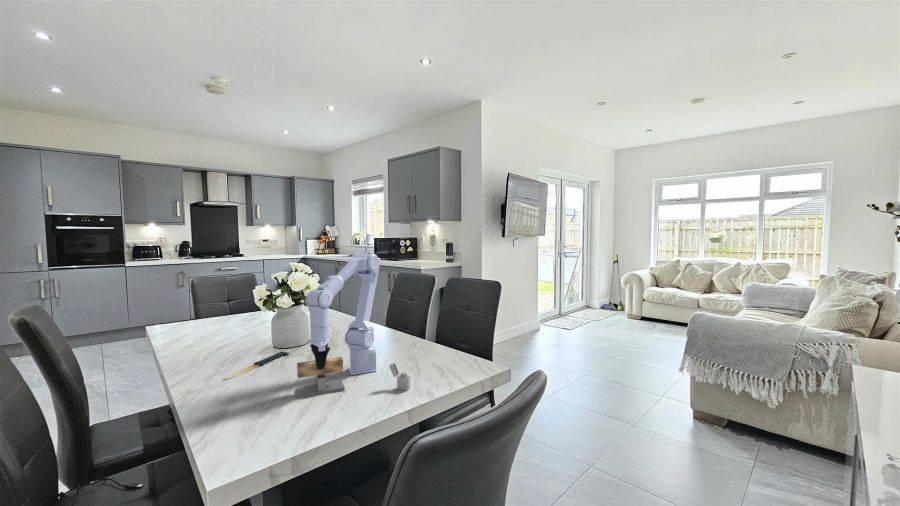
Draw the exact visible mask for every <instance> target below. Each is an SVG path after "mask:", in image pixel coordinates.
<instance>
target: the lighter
mask: <svg viewBox="0 0 900 506" xmlns="http://www.w3.org/2000/svg"><path fill="white" fill-rule="evenodd" d="M389 369H390V372H391V374H392V376H393V378H395V377H396V383H397V384H396V385H397V387H396V388H397V390H401V391H405V392H408V391H409V389H410V390H411V376H410V375H408V374H407V372H404V371H403V372H399V369H398V367H397V364H396V362H393V363H391V364H389Z"/></svg>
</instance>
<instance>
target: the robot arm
mask: <svg viewBox="0 0 900 506" xmlns="http://www.w3.org/2000/svg"><path fill="white" fill-rule="evenodd" d="M380 266H381V261H380V259H379V256H378V255H377V254H374V253H371V254H370V253H367V254H365V253H361V254H360V253H353V254H352V255H351V256H350V257H349V258H348V262H347V263H346V264H345V265H344V266H343V267H342V269H341V270H340V271H339V272H338V273H337V274H336V275H335V274H333V275H328V276H327V277H326V280H324V281H323V282H322V283H321V284H319V285H318V286H317V288H316V289H312V290H310V291H309V292H308V293H307V295H306V298H305V300H304V301H305V304H306V306H308V307H307V308H308V312H309V327H310V328H309V331H310V332H309V333H310V339H307V340H306V344H310V348H311V352H312V354H313V355H314V361H315V360H316V365H317V368H318V369H324V368H325V364H326V359H328V358H327V357H328V354H329V352H330V350H331V347H330V346H329V343H330V342H331V340H330V327H329V326H330V325H329V319H330V318H329V306H331V305H332V303H333V299H334V298H335V296H336V295H337V294H338V293H339V292H340V291H341V290H342V289H343V287H344V283H345V282H346V280H348V279H349V278H351V276H353V275H354V274H357V275H358V276H360V278H361V279H362V281H361V285H360V286H361V287H360V292H359V297H358V302H357V307H356V313H355V319H354V320H353V321H352V322H350V323H349V325H348V328H347V330H346V332H345V334H344V342H345V343H346V344H347V347H348V349H349V366H348V367H347V370H348V371H349V374H350V376H355V375H362V374H368V373H373V372H377V371H378V370H377V350H376V347H375V345H373V344H374V341H375V334H374V332H375V327H374V326H373V325H372V323H370V319H371V314H372V309H373V303H374V298H375V291H376V286H377V282H378V277H379V271H380Z"/></svg>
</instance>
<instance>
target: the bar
mask: <svg viewBox="0 0 900 506" xmlns="http://www.w3.org/2000/svg"><path fill="white" fill-rule="evenodd" d="M296 369H297V372H296V373H297V379H301V378H308V377H316V375H322V374H325V375H326V374H333V373H334V374H335V373H340V372H344V361H343V357H342V356H339V357H331V358H326V364H325V368H324V369H318V368H317V365H316V360H315V359H314V360H309V361H301V362H296Z"/></svg>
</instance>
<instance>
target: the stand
mask: <svg viewBox="0 0 900 506" xmlns="http://www.w3.org/2000/svg"><path fill="white" fill-rule="evenodd" d="M326 378H327V377H326V374H322V375H315V382H313V383H308V384H300V385H297V394H298V395H299V396H298V399H301V398H300V397H303V398H307V396H309V397H313V396H312V395H315V396H318V395H317V394H321V395H324V394H323V393H326V394H330V393H329V392H332V393H337V392H336V391H338V392H341V391H343V390H344V391H345V390H346V388H345V387H346V386H345V385H344V382H343V380H342V378H339V379H331V380H327V379H326Z"/></svg>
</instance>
